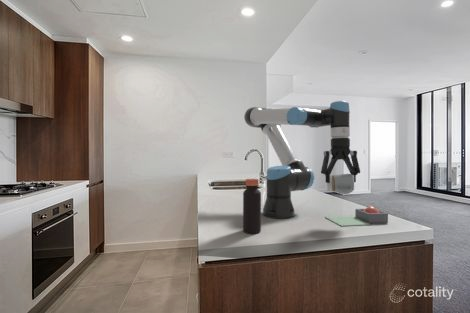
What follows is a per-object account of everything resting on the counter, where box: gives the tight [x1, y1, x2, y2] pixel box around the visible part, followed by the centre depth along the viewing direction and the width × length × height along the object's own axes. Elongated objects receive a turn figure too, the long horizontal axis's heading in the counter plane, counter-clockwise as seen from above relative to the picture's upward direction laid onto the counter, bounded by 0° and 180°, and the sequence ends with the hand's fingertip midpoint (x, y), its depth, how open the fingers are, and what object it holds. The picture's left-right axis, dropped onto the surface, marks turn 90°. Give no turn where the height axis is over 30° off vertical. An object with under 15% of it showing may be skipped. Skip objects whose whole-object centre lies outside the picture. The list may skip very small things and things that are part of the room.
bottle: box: [242, 178, 262, 235], centre depth 92 cm, size 7×7×20 cm
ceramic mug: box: [331, 173, 355, 195], centre depth 100 cm, size 11×8×8 cm
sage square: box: [324, 215, 371, 227], centre depth 106 cm, size 13×13×1 cm
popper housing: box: [354, 208, 389, 224], centre depth 107 cm, size 9×9×4 cm
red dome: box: [363, 205, 380, 214], centre depth 107 cm, size 6×6×5 cm
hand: (340, 190), depth 103 cm, fingers closed on ceramic mug, 9 cm apart
